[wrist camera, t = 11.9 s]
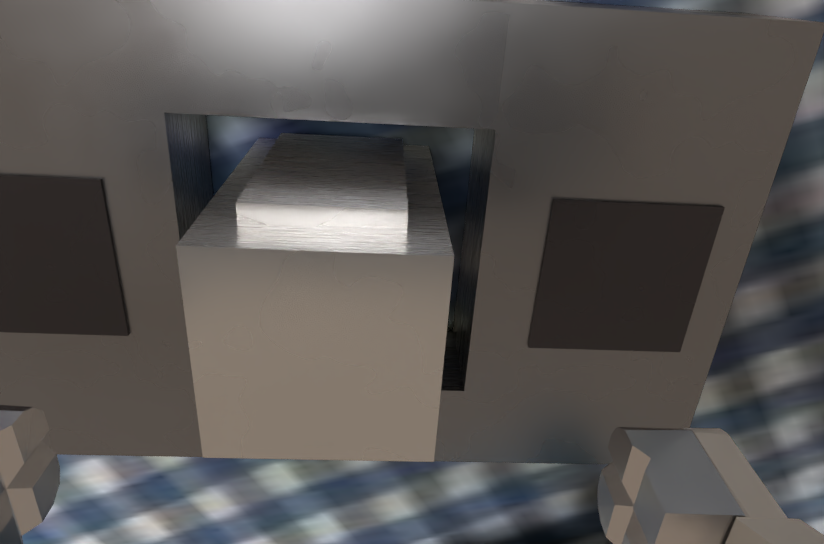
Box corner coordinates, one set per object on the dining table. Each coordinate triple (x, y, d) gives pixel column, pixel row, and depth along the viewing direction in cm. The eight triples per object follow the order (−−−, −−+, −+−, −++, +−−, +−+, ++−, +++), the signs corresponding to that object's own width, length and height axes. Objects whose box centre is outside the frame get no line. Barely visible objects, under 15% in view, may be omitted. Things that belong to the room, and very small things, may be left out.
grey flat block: (748, 13, 15) (830, 23, 12) (638, 400, 20) (677, 468, 17) (-98, -41, 14) (-220, -44, 11) (23, 384, 19) (-39, 455, 16)
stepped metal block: (429, 130, 16) (457, 233, 10) (417, 304, 18) (432, 476, 12) (258, 122, 16) (172, 222, 9) (268, 299, 18) (204, 473, 12)
